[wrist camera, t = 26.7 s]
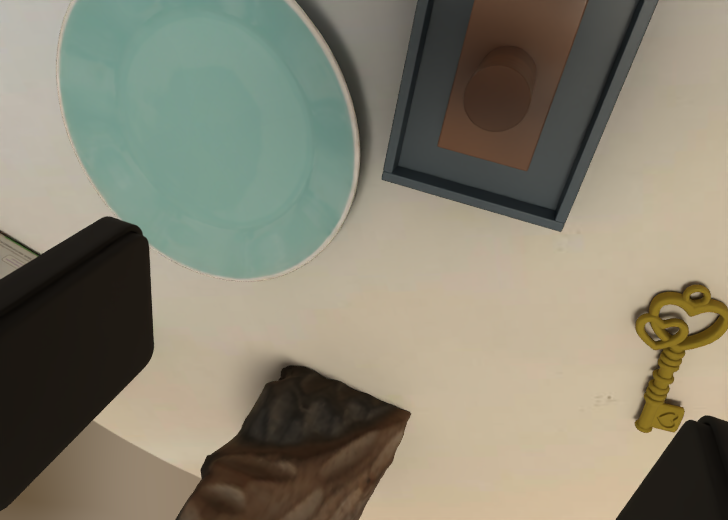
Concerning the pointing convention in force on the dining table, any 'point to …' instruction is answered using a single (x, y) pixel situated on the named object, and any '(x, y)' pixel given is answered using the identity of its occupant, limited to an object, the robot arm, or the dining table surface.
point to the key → (674, 351)
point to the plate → (212, 128)
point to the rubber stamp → (508, 77)
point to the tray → (559, 134)
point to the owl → (300, 454)
